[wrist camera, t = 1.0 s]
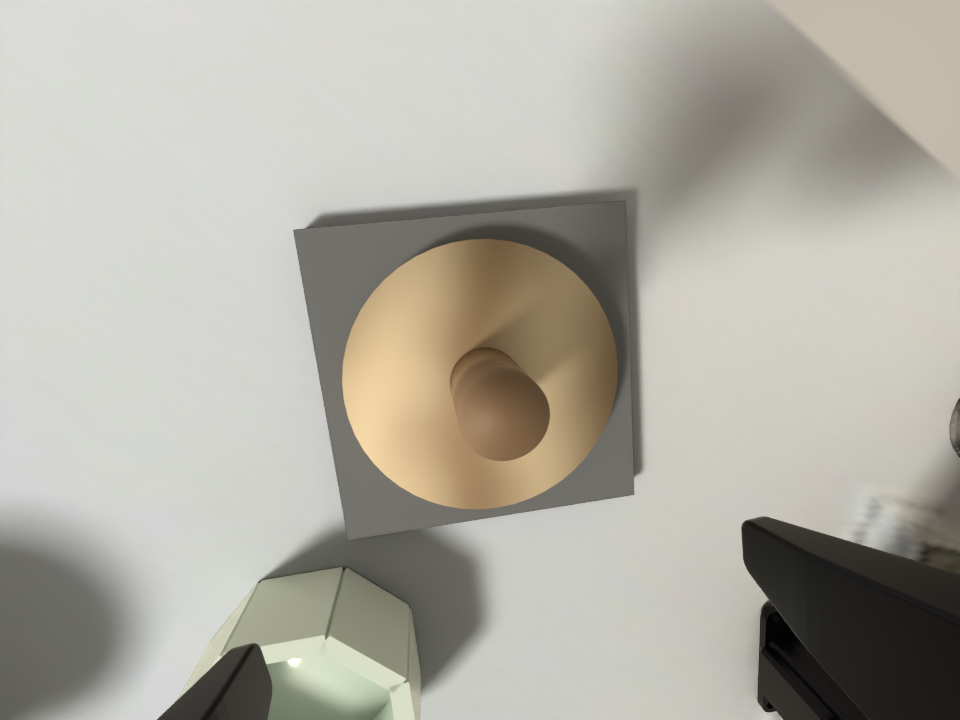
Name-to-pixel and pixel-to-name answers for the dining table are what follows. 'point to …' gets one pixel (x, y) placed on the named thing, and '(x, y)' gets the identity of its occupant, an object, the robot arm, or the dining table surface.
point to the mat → (388, 245)
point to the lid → (479, 374)
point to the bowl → (327, 647)
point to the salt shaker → (955, 429)
